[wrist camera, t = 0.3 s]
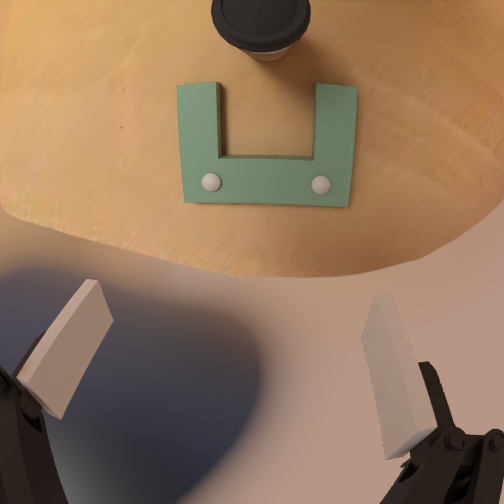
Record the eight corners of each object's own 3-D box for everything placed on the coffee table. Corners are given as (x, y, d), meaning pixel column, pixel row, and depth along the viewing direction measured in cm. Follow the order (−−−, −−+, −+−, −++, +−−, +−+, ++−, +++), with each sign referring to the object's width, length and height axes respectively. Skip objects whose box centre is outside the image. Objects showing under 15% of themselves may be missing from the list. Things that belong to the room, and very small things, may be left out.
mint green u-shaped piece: (182, 85, 32) (175, 85, 30) (352, 87, 30) (358, 87, 28) (189, 196, 40) (183, 204, 38) (344, 200, 39) (348, 209, 36)
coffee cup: (305, 19, 26) (321, -24, 13) (292, 74, 31) (302, 58, 18) (240, 8, 26) (218, -39, 13) (227, 62, 30) (196, 41, 17)
